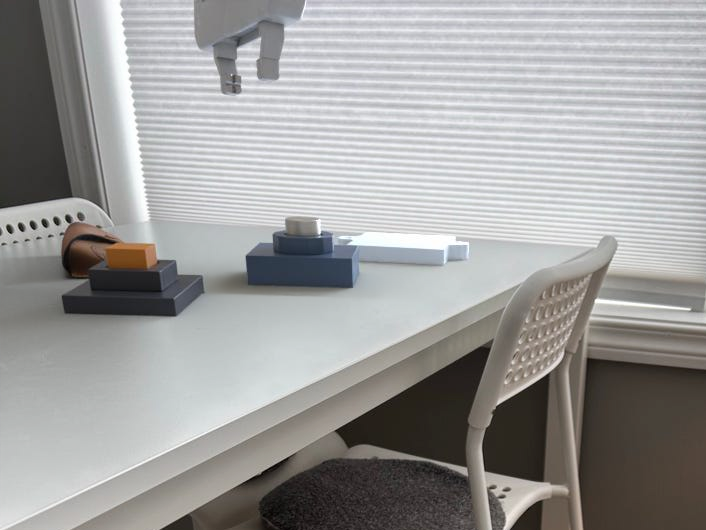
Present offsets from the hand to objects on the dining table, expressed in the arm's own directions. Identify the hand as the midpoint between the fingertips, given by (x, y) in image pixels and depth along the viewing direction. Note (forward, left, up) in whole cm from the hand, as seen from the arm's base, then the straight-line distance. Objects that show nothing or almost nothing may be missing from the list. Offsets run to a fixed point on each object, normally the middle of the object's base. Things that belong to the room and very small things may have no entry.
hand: (249, 87), depth 98 cm
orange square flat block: (-9, -18, -15) cm, 25 cm away
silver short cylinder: (+4, +6, -15) cm, 17 cm away
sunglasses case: (-22, +11, -20) cm, 31 cm away
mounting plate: (+15, +26, -20) cm, 36 cm away
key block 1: (-9, -18, -20) cm, 28 cm away
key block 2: (+4, +6, -20) cm, 21 cm away
